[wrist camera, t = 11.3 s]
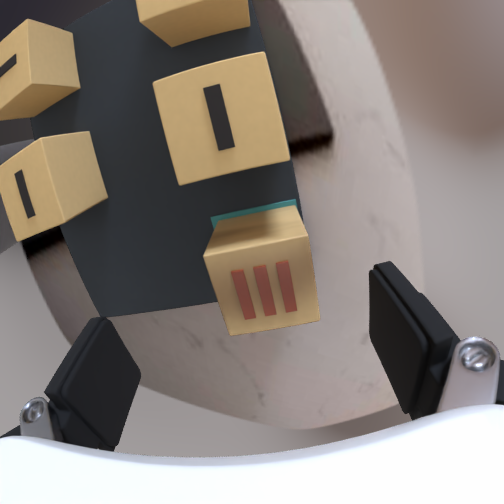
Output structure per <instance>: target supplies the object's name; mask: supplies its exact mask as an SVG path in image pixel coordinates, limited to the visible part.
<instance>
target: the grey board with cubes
mask: <svg viewBox="0 0 504 504" xmlns="http://www.w3.org/2000/svg"><path fill="white" fill-rule="evenodd" d="M29 117H30V120H31V125H32V130H33V135H34V140H35V142H33V143H32V144H30V145H29V146H27V147H26V148H24V149H23V150H21V151H20V152H18V153H17V154H16V155H14V156H13V157H11V158H10V159H9V160H7V161H6V162H5V163H3V164H2V165H1V166H0V193H1V196H2V199H3V203H4V206H5V209H6V212H7V215H8V218H9V221H10V224H11V227H12V230H13V232H14V235H15V238H16V240H17V241H21V240H23V239H26V238H28V237H31V236H33V235H35V234H38V233H40V232H43V231H45V230H48V229H50V228H53V227H56V226H58V225H60V228H61V230H62V233H63V236H64V238H65V241H66V243H67V246H68V248H69V251H70V253H71V256H72V258H73V260H74V263H75V265H76V267H77V269H78V272H79V274H80V276H81V278H82V280H83V283H84V285H85V287H86V289H87V291H88V293H89V295H90V297H91V299H92V301H93V303H94V305H95V307H96V309H97V311H98V313H99V315H100V317H113V316H121V315H129V314H137V313H145V312H152V311H159V310H166V309H173V308H180V307H187V306H193V305H200V304H206V303H213V302H218V300H217V297H216V294H215V291H214V288H213V285H212V282H211V279H210V276H209V273H208V270H207V267H206V264H205V261H204V258H203V255H204V252H205V250H206V248H207V245H208V243H209V241H210V238H211V236H212V234H213V232H214V229H215V227H216V225H217V222H218V221H220V220H224V219H229V218H234V217H238V216H243V215H248V214H252V213H257V212H262V211H267V210H272V209H277V208H282V207H287V206H292V205H295V206H296V208H297V210H298V212H299V215H300V217H301V219H302V222H303V217H302V211H301V205H300V200H299V195H298V189H297V184H296V179H295V174H294V169H293V164H292V159H291V154H290V150H289V145H288V140H287V136H286V131H285V127H284V122H283V118H282V114H281V109H280V105H279V101H278V97H277V93H276V89H275V85H274V81H273V77H272V73H271V69H270V65H269V61H268V57H267V54H266V50H265V46H264V43H263V39H262V36H261V32H260V29H259V25H258V22H257V18H256V15H255V12H254V8H253V5H252V2H251V0H112V1H110V2H108V3H106V4H104V5H102V6H101V7H98V8H97V9H95V10H93V11H91V12H89V13H88V14H86V15H84V16H83V17H81V18H79V19H77V20H76V21H74V22H73V23H71V24H69V25H68V26H66V27H64V28H63V29H59V28H56V27H53V26H50V25H46V24H44V23H40V22H37V21H34V20H30V19H27V20H25V21H24V22H23V23H22V24H20V25H19V26H18V27H17V28H16V29H15V30H13V31H12V32H11V33H10V34H9V35H8V36H7V37H6V38H5V39H3V41H1V42H0V121H2V120H9V119H19V118H29ZM303 224H304V222H303Z"/></svg>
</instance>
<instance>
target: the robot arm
mask: <svg viewBox="0 0 504 504" xmlns="http://www.w3.org/2000/svg"><path fill="white" fill-rule="evenodd" d="M369 301H370V316H369V334H370V339H371V342H372V344H373V346H374V348H375V350H376V352H377V355H378V357H379V359H380V361H381V363H382V365H383V367H384V370H385V372H386V374H387V376H388V378H389V381H390V383H391V385H392V387H393V390H394V392H395V394H396V397H397V399H398V401H399V404H400V406H401V408H402V411H403V412H404V413H405V414H407V413H409V414H410V416H411V419H412V421H410V422H406V423H403V424H400V425H396V426H393V427H390V428H387V429H384V430H380V431H377V432H373V433H370V434H366V435H363V436H358V437H354V438H350V439H346V440H341V441H337V442H333V443H329V444H323V445H318V446H314V447H308V448H302V449H296V450H289V451H282V452H275V453H266V454H256V455H245V456H230V457H193V458H192V457H163V456H148V455H137V454H127V453H119V452H114V449H115V446H117V445H118V443H119V441H120V437H121V434H122V431H123V428H124V425H125V422H126V419H127V416H128V413H129V410H130V407H131V404H132V401H133V398H134V396H135V393H136V390H137V387H138V384H139V381H140V378H141V372H140V369H139V368H138V366H137V365H136V363H135V361H134V360H133V358H132V357H131V355H130V353H129V352H128V350H127V348H126V347H125V345H124V343H123V341H122V340H121V338H120V336H119V334H118V333H117V331H116V329H115V327H114V326H113V324H112V322H111V321H110V320H108V319H107V318H106V317H96V318H91V319H90V320H89V322H88V323H87V325H86V326H85V327H84V329H83V330H82V332H81V333H80V335H79V336H78V338H77V339H76V341H75V342H74V344H73V346H72V347H71V349H70V350H69V352H68V353H67V355H66V356H65V358H64V360H63V361H62V363H61V365H60V366H59V368H58V369H57V371H56V373H55V374H54V376H53V378H52V379H51V381H50V383H49V385H48V386H47V388H46V390H45V391H44V393H45V394H46V395H47V396H48V398H49V399H50V401H49V403H48V402H47V401H46V400H45V399H44V398H42V397H36V398H33V399H31V400H30V401H29V402H27V403H26V404H25V406H24V407H23V409H22V410H21V413H20V425H19V426H17V427H16V428H14V429H12V430H11V431H9V432H7V433H6V434H4V435H2V436H1V437H0V504H504V360H500V353H499V351H498V349H497V347H496V346H495V345H494V344H493V343H492V342H491V341H489V340H487V339H485V338H482V337H469V338H465V339H463V340H462V341H461V340H460V339H459V338H458V336H457V335H456V334H455V333H454V331H453V330H452V329H451V327H450V326H449V325H448V324H447V322H446V321H445V320H444V319H443V317H442V316H441V315H440V314H439V312H438V311H437V310H436V309H435V308H434V307H433V305H432V304H431V303H430V302H429V300H428V299H427V298H426V297H425V296H424V295H423V294H422V293H419V292H418V291H417V290H416V289H415V288H414V287H413V285H412V284H411V283H410V282H409V281H408V280H407V279H406V277H405V276H404V275H403V274H402V273H401V272H400V271H399V269H398V268H397V267H396V266H395V265H394V264H393V263H392V262H391V261H388V262H384V263H379V264H375V265H374V268H373V270H370V271H369ZM421 417H422V418H421ZM418 418H419V419H418ZM415 419H416V420H415ZM98 449H99V450H98Z"/></svg>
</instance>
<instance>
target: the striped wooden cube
mask: <svg viewBox="0 0 504 504" xmlns="http://www.w3.org/2000/svg"><path fill="white" fill-rule="evenodd" d="M203 258H204V261H205V264H206V267H207V270H208V273H209V276H210V279H211V282H212V285H213V288H214V291H215V294H216V297H217V300H218V303H219V306H220V309H221V312H222V315H223V318H224V321H225V323H226V326H227V329H228V332H229V335H230V336H234V335H241V334H248V333H254V332H260V331H266V330H272V329H278V328H284V327H290V326H295V325H300V324H306V323H311V322H316V321H319V320H320V313H319V305H318V297H317V290H316V282H315V275H314V268H313V262H312V255H311V249H310V242H309V236H308V234H307V231H306V229H305V226H304V224H303V222H302V219H301V217H300V215H299V212H298V210H297V208H296V206H295V205H292V206H287V207H282V208H277V209H272V210H267V211H262V212H257V213H252V214H248V215H243V216H238V217H234V218H229V219H224V220H220V221H218V222H217V225H216V227H215V229H214V232H213V234H212V236H211V238H210V241H209V243H208V245H207V248H206V250H205V252H204V255H203Z"/></svg>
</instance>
